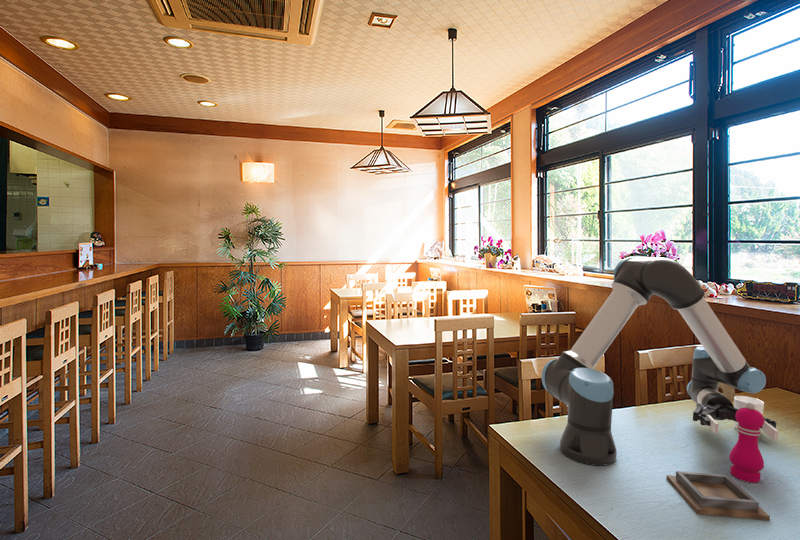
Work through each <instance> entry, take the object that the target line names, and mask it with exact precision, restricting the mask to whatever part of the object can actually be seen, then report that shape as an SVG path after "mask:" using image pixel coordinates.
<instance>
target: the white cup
mask: <svg viewBox="0 0 800 540" xmlns="http://www.w3.org/2000/svg"><path fill="white" fill-rule="evenodd" d="M747 403H753V404H754V405H755V408H754V409H755V410H757V411H759V412H760V413H761V414H762V415H763V412H764V407H765V402H764V401H763V400H761V399H759V398H755V397H752V396H747V395H746V396H745V395H735V397H734V401H733V406H734V408H736V409H740V408H747V407H746V404H747ZM737 424H739V423H738V422H736V421H733V427H734V428H735V429H736V430H737Z"/></svg>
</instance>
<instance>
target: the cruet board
mask: <svg viewBox="0 0 800 540" xmlns="http://www.w3.org/2000/svg"><path fill="white" fill-rule="evenodd" d="M675 471H676V472H675V475H672V474H666V480H667V481H668V482H669V483H670V484H671V486H672V487H673V488H674V489H675V491H677V493H679V495H680V496H681V497H682V498H683V500H685V502H686V503H687V504H688V505H689V506H690V507H691V508H692V509H693V511H694V512H695V513H696V514H697V515H705V516H707V515H708V516H715V517H716V516H718V517H726V518H727V517H728V518H729V517H730V518H738V519H739V518H741V519H752V520H764V521H770V520H771V519H770V518H771V516H770V514H768V513H767V512H766V511H765V510H764V509H763V508H761V506H759V504H760V502H758V501H757V500H756V499H755V498H754V497H753V496H752V495H750V493H748V492H747V491H746V490H745V489H744V488H743V487H742V486H740V485H739V484H738V483H737V482H735V481H734V479H732V478H731V477H730V476H729V475H728V474H720V473H705V472H694V471H693V472H690V471H682V470H681V471H679V470H675Z"/></svg>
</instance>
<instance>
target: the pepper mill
mask: <svg viewBox="0 0 800 540" xmlns="http://www.w3.org/2000/svg"><path fill="white" fill-rule="evenodd" d="M746 407H747V408H740V409H739V410H738V411H737V412H736V415H735V418H736V420H737V422H738V423H739V424H737V429H736V431H737V432H738V437H737V442H736V443H735V445H734V446H733V447H732V448H731V450H730V453H729V457H728V458H729V461H730V462H731V464H732V465H730V475H732V477H734V478H736V479H738V480H741V481H743V482H747V483H753V484H756V483H760V482H761V471H762V470H763V469H764V468H765V465H764V464H765V463H764V462H765V461H764V458H763V454H762V453H761V451H760V447H759V445H758V439H759V437H760V436H761V435H762V433H761V432H762V429H761V428H760V427H762V426H763V424H764V417H763V415H762V414H761V413H760V412H759V411H757V410H755V409H754V408H755V405H754V404H753V403H747V404H746Z"/></svg>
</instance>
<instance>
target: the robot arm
mask: <svg viewBox="0 0 800 540" xmlns="http://www.w3.org/2000/svg"><path fill="white" fill-rule="evenodd" d="M610 284H611V288H612V291H611V292H610V294H609V296H608V297H607V298H606V300H605V301H604V303H603V304H602V306H601V307H600V308H599V310H598V311H597V313H595V315H594V317H593V318H592V320H590V322H589V324H588V325H587V326H586V328H585V329H584V330H583V332H582V334H581V335H580V336H579V337H578V339H577V340H576V342H575V343H574V344H573V346H572V347H571V349H570V350H565V351H564V350H563V351H562V352H561V354H560V355H559V357H558V358H554V359H551V360H548V361H547V362H546V364H545V365H544V366H543V368H542V371H541V383H542V386H543V388H544V389H545V390H546V392H547V393H548V394H550V396H552V397H553V398H555V399H557V400H558V401H560V402H561V403H563V404H564V405H565V406H567V422H566V423H567V424H566V426H565V428H564V430H563V433H562V435H561V438H560V441H559V450H560V452H561V453H562V454H563V455H564V456H565V457H567V458H569V459H571V460H573V461H575V460H576V461H575V462H578V461H579V462H578V463H581V462H583V463H582V464H585V463H588V464H587V465H590V464H595V465H594V466H605V465H604V464H609V465H612V464H614V463H615V462H616V461H617V447H616V443H615V439H614V436H613V433H612V420H613V402H614V401H613V399H614V395H615V393H614V382H613V379H611V377H610V376H608V375H607V374H606V373H604V372H603V371H600V370H596V366H597V364H598V363H599V361H600V360H601V359H602V357H603V356H604V354H605V353H606V351H607V350H608V349H609V347H610V346H611V345H612V343H613V342H614V340H615V339H616V337H617V336H618V335H619V333H620V332H621V330H622V329H623V328H624V326H625V325H626V324H627V322H628V320H629V319H630V318H631V316H632V315H633V314H634V313H635V310H636V309H638V307H639V306H643V305H645V306H646V304H647V303H648V302H649V300H650V299H651V298H652V296H657V297H660V298H662V299H663V300H664V301H666V302H667V303H668V304H669V306H670V307H671V308H672V309H673V310H677V311H678V313H679V314H680V315H681V317H682V318H683V320H684V321H685V322H686V324H687V326H688V328H689V329H690V330H691V331H692V333H693V334H694V335H695V337H696V338H697V340H698V341H699V343H700V345H702V346H697V347H695V348H694V349H693V357H692V359H691V360H692V364H691V365H692V366H691V367H692V368H691V380H690V381H689V382H688V384H687V386H686V391H687V395H689V396H688V397H690V399H691V400H692V401H693V402H694V403H696V406H695V409H694V410H693V412H692V421H694V422H698V421H699V422H700V423H699V424H700V425H701V426H707V427H709V429H710V430H711V431H712V432H713V433H714V434H719V427H720V426H719V422H718V421H726V420H728V421H733V422H734V421H736V422H737V420H736V418H735V415H736V412H737V411H738V410H739V409H736V408H734V403H733V402H731V401H730V400H729V399H727V398H726V397H725V396H724V395H723V394H721V393H722V392H720V391H719V387H718V383H719V382H721V383H724V384H726V385H729V386H731V387H734V389H736V390H739V391H741V392H745V393H749V394H757V393H760V392H761V391H762V390H763V389H764V388H765V387H766V384H767V377H766V375H765V373H764V372H763V371H761V370H760V369H757V368H756V367H752V366H751V365H750V364H749V363H748V362H747V360H746V358H745V357H744V356H743V354H742V352H741V351H740V349H739V348H738V346H737V344H735V342H734V340H733V339H732V337H731V336H730V335H729V333H728V332H727V330H726V328H725V327H724V326H723V324H722V322H721V321H720V320H719V318H718V317H717V315H716V314H715V312H714V311H713V309H712V308H711V307H710V306H711V305H710V304H709V303H708V302H707V300H706V299H705V296H706V292H705V290H704V288H703V286H701V284H700V283H699V281H698V280H697V279H696V278H695V277H694V275H693V274H692V273H690V271H689V270H687V268H686V267H684V266H683V265H682V264H681V263H679V262H677V261H675V260H673V259H671V258H667V257H655V256H654V257H653V256H652V257H651V256H645V255H633V256H628V257H625V258H623V259H621V260H620V261H619V262H618V263H617V264H616V266H615V267H614V269H613V281H612V283H610ZM763 417H764V416H763ZM760 429H761V432H763V433H765V434H766V435H767V436H768V437H769V438H770V439H772V441H774V442H776V441H777V442H778V440H779V430H777V421H776V420H773V419H771V418H768V417H767V416H766V417H764V424H763V426H762V427H760ZM613 462H614V463H613ZM611 463H612V464H611Z"/></svg>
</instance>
